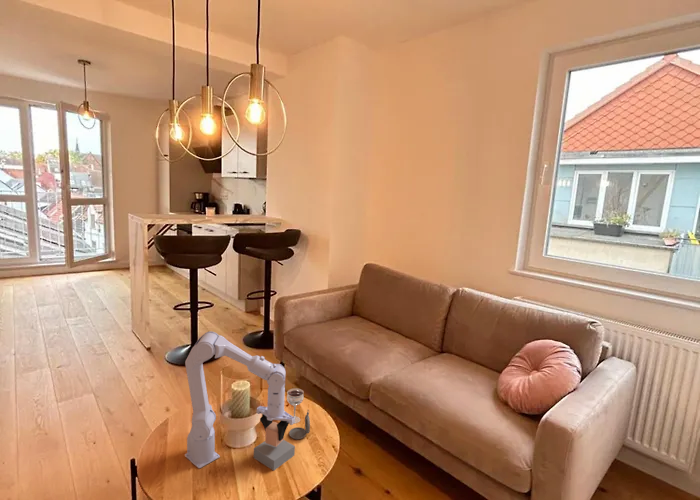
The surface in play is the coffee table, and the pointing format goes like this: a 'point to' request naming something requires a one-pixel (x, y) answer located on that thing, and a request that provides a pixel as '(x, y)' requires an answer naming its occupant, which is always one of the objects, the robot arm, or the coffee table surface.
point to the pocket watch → (301, 429)
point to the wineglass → (295, 399)
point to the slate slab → (274, 454)
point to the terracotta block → (272, 435)
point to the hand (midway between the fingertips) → (274, 436)
